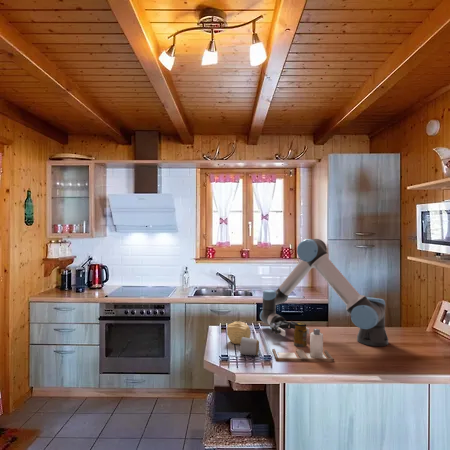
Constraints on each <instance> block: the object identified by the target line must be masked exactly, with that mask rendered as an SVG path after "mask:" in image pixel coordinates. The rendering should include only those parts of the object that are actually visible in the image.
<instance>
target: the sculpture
mask: <svg viewBox="0 0 450 450" xmlns="http://www.w3.org/2000/svg"><path fill="white" fill-rule="evenodd" d="M251 334H252V331H251V329H250V327H249V325H248V324H247V323H246V322H244V321H243V322H242V321H233V322H232V323H228V324H227V326H226V335H227V336H228V339H229V341H230V342H231V343H232V344H234V345H241V339H242V337H245V338H251V336H252V335H251Z"/></svg>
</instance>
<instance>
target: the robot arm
mask: <svg viewBox="0 0 450 450" xmlns="http://www.w3.org/2000/svg"><path fill="white" fill-rule="evenodd" d="M296 248H297V249H296V254H297V256H298V258H299V259H300V261H299V262H298V263H297V265H296V266H295V267H294V268H293V270H292V271H291V272H290V273H289V274H288V276H287V277H286V278H285V279H284V280H283V282H282V283H281V284H280V285H279V286H278V288H277V289H276V290H274V289H264V290H263V292H262V310H261V311H260V314H259V319H260V320H261V321H262V322H263V323H264V324H266V325H268V326H269V327H270V329H271V331H270V332H271V333H272V334H273V333H274V334H275V335H278V334H279V335H281V336H282V337H286V329H287V330H291V329H293V330H294V329H295V323H297V322H296V321H293V320H290V321H287V320H286V318H284V317H283V316H281V315H279V314H277V313H276V310H277V305H280V304H284V303H286V301H288V299H289V296H290V294H291V293H292V292H294V290H295V289H296V288H297V287H298V285H299V284H300V283H301V281H303V279H304V278H305V277H306V276H307V274H308V273H310V271H311V270H312V269H315V270H316V271H317V272H318V273H319V274H320V276H321V277H322V278H323V279H324V281H326V283H327V284H328V285H329V286H330V287H331V289H332V290H333V291H334V292H335V294H336V295H337V296H338V297H339V298H340V300H341V301H342V302H343V303H344V304H345V308H346V309H345V310H346V311H347V312H348V314H349V315H350V319H351V322H352V323H353V324H354V326H355V327H357V328H359V329H358V333H357V337H356V341H357V342H358V343H360V344H363V345H365V346H369V347H387V346H388V345H389V338H388V334H387V330H386V301H385V299H383V298H378V297H377V298H376V297H368V296H366V295H363V294H360V293H359V292H358V291H357V290H356V288H355V287H354V286H353V285H352V284H351V283H350V282H349V280H348V279H347V278H346V277H345V276H344V275H343V273H342V272H341V271H340V270H339V269H338V268H337V267H336V265H335V264H334V263H333V262H332V261H331V260H330V259H329V253H328V248H327V244H326V242H324V240H322V239H319V238H306V239H304V240H302V241H300V242H299V244H298V245H297V247H296ZM306 329H307V335H310V328H308V327H307V326H306ZM386 345H387V346H386Z"/></svg>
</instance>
